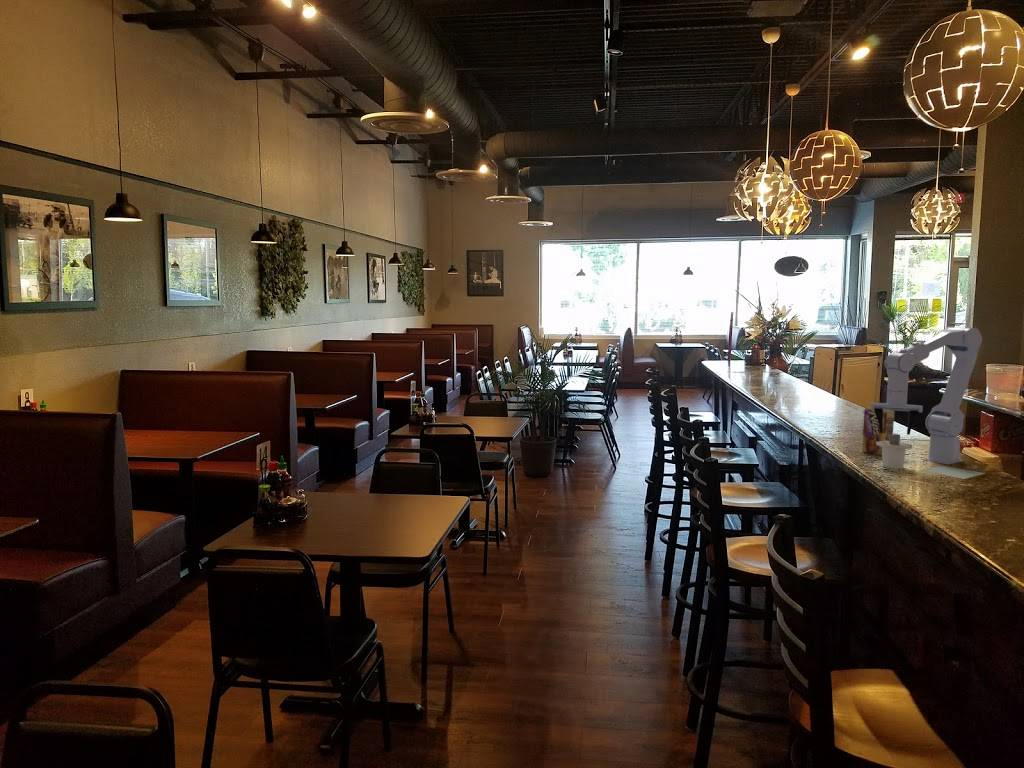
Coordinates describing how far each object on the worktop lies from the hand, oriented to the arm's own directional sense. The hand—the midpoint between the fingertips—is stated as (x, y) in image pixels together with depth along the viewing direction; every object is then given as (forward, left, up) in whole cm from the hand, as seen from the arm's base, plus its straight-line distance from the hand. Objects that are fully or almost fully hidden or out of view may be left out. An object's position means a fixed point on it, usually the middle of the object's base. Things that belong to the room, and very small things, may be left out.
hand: (894, 433), depth 234 cm
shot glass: (+3, +2, -11) cm, 11 cm away
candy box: (-14, -13, -11) cm, 22 cm away
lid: (+3, +2, -3) cm, 5 cm away
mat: (-5, +16, -10) cm, 19 cm away
